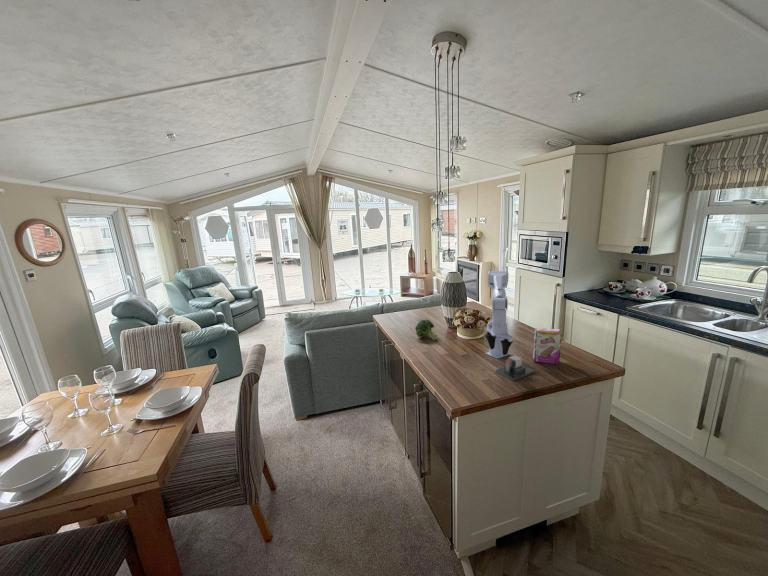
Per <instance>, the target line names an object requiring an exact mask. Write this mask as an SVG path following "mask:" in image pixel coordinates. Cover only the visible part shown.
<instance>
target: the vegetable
mask: <svg viewBox="0 0 768 576" xmlns="http://www.w3.org/2000/svg"><path fill="white" fill-rule="evenodd" d="M434 327H435V325H434V324H433V322H432V321H431V320H429V319H421V320H419V321H418V323H417V324H416V326H415V331H416V332H415V334H416V336H417V337H419V338H423V337H429V338H430V339H431V340H432V341H436V339H437V338H438V335H437V334H436V332H433V331H432V329H433V328H434Z"/></svg>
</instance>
